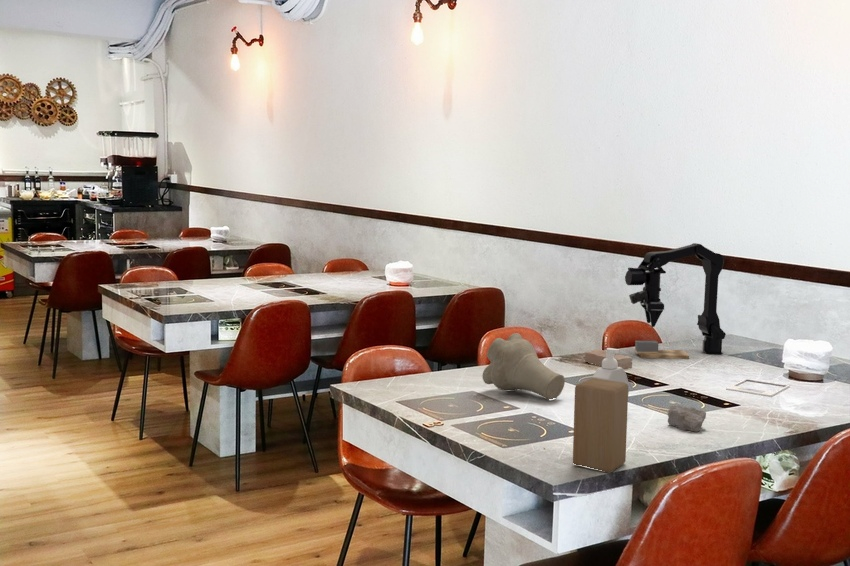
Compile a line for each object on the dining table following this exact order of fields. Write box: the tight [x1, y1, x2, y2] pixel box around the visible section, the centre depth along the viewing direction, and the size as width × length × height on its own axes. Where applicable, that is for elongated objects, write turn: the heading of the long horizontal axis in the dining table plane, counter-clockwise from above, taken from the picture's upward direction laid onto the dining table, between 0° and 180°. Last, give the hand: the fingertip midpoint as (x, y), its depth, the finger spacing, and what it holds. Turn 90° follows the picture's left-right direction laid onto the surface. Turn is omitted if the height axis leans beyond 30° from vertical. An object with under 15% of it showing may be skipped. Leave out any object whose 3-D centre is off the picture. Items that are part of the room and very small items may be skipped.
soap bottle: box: [591, 347, 630, 394], centre depth 255 cm, size 16×5×20 cm, turn 142°
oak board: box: [637, 349, 690, 360], centre depth 345 cm, size 18×11×1 cm, turn 86°
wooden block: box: [572, 377, 629, 473], centre depth 211 cm, size 10×10×20 cm
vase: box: [482, 332, 566, 401], centre depth 277 cm, size 22×22×28 cm
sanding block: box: [634, 340, 659, 354], centre depth 346 cm, size 8×5×4 cm, turn 86°
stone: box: [667, 404, 707, 433], centre depth 245 cm, size 10×8×6 cm
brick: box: [584, 349, 633, 370], centre depth 326 cm, size 17×8×5 cm, turn 38°
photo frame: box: [725, 378, 791, 398], centre depth 293 cm, size 15×1×18 cm
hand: (650, 324), depth 345 cm, fingers open, 9 cm apart
